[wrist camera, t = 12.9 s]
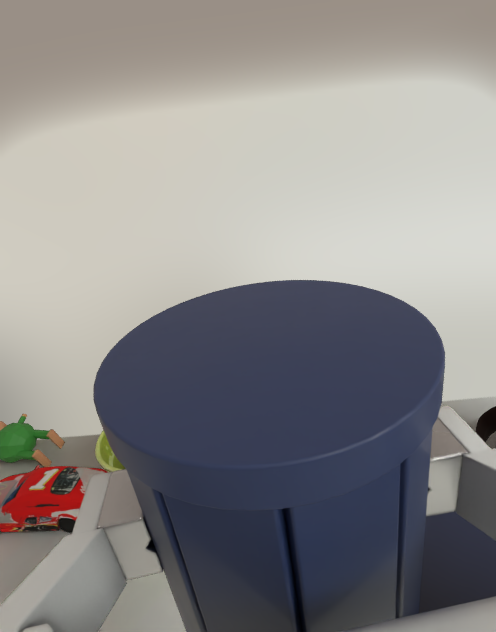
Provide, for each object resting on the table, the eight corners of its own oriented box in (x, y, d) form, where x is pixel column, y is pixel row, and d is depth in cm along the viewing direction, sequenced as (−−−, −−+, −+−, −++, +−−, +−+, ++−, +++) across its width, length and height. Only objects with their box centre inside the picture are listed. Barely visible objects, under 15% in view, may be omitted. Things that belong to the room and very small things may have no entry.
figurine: (38, 485, 41) (-43, 475, 45) (74, 428, 46) (-2, 423, 50) (12, 463, 38) (-72, 454, 42) (53, 405, 43) (-26, 401, 47)
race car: (-33, 537, 36) (-53, 507, 34) (5, 488, 41) (-11, 460, 39) (101, 536, 34) (86, 504, 32) (124, 485, 39) (113, 455, 37)
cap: (177, 784, 9) (19, 497, 5) (201, 522, 14) (138, 299, 11) (634, 740, 8) (850, 393, 4) (470, 490, 14) (503, 247, 10)
